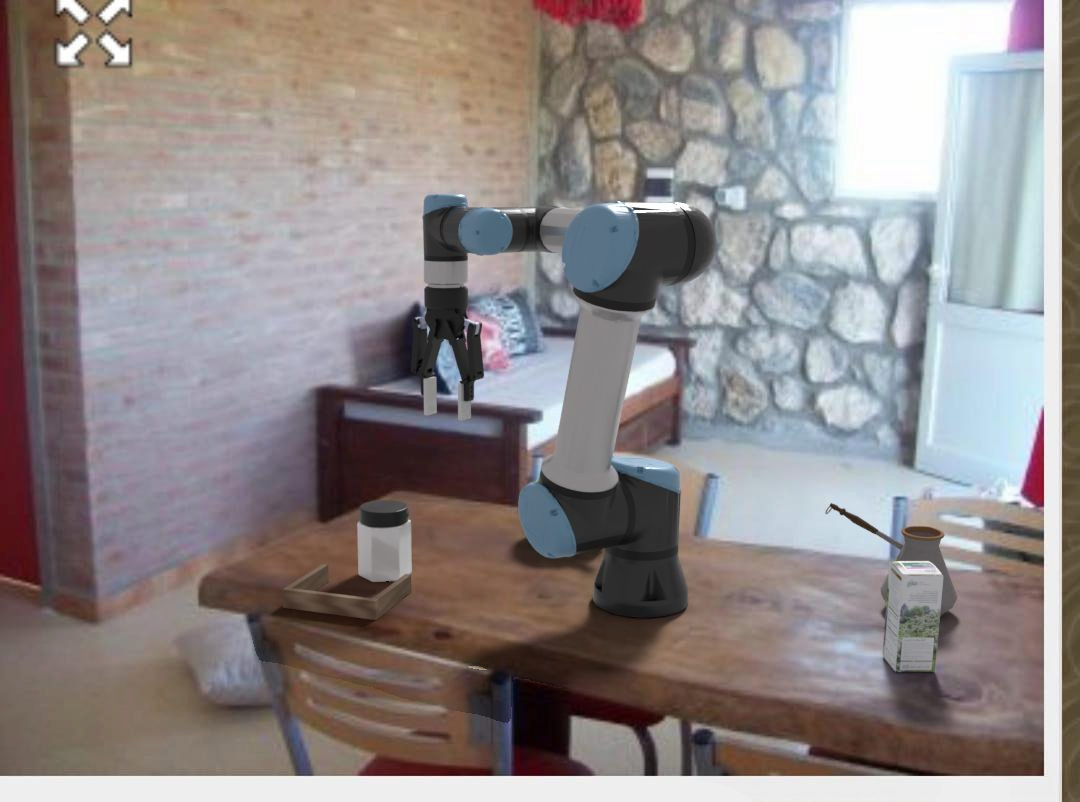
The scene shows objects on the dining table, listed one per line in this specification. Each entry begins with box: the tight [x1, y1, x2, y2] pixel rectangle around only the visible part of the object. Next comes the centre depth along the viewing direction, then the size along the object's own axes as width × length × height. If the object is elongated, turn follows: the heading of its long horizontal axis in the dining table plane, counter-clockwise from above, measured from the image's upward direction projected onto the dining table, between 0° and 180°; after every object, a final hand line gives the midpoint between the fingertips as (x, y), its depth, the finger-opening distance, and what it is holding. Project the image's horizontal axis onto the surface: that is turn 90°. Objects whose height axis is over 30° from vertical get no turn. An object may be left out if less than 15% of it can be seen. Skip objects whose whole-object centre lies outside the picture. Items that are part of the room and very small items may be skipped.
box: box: [282, 563, 412, 621], centre depth 189 cm, size 16×13×3 cm
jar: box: [356, 499, 413, 583], centre depth 200 cm, size 9×8×12 cm
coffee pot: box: [824, 502, 958, 618], centre depth 188 cm, size 21×12×15 cm, turn 55°
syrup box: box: [882, 560, 943, 673], centre depth 164 cm, size 6×6×14 cm
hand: (447, 416), depth 208 cm, fingers open, 7 cm apart
